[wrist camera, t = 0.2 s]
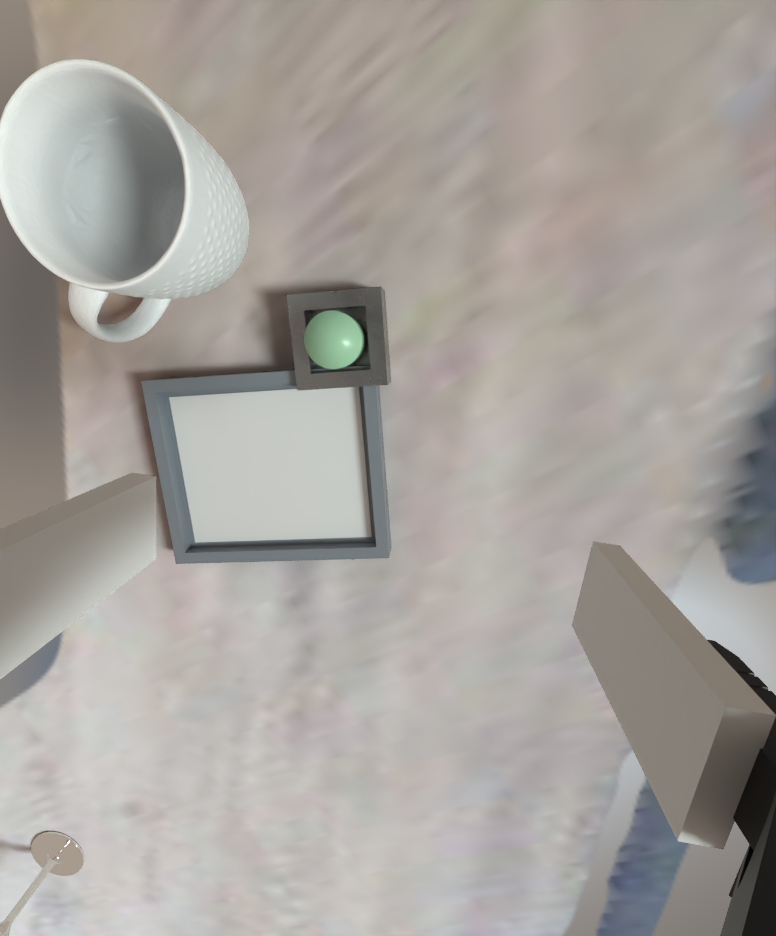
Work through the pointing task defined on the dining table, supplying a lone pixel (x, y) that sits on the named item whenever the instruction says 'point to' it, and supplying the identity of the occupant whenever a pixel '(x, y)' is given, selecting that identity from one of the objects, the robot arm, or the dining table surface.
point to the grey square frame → (371, 317)
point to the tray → (269, 468)
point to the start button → (334, 339)
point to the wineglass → (48, 866)
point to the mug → (116, 193)
